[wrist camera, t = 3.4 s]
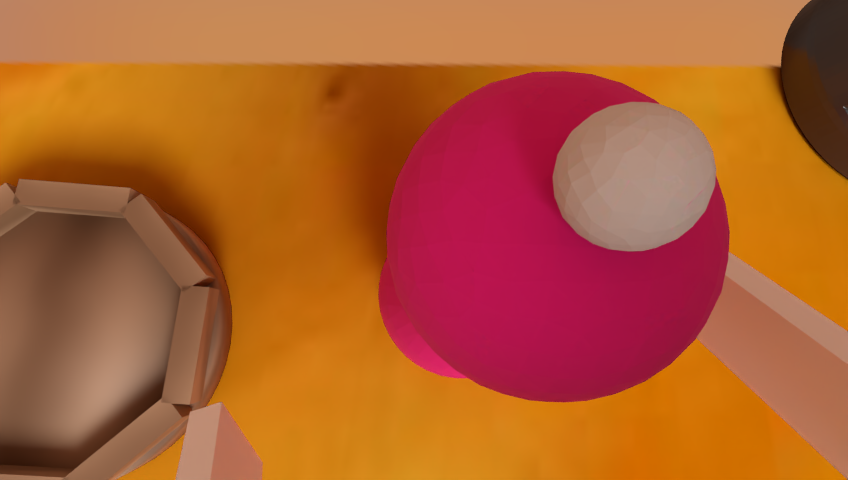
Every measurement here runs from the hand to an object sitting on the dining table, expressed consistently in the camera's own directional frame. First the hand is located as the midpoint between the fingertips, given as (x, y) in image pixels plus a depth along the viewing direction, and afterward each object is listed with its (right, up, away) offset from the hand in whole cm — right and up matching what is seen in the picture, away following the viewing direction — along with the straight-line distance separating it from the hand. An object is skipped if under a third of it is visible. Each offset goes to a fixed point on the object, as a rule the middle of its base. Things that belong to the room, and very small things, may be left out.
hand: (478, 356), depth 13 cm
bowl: (-18, -1, +10) cm, 21 cm away
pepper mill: (0, 0, +12) cm, 12 cm away
